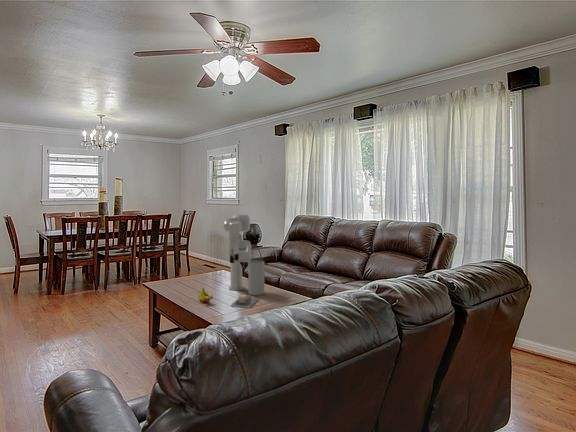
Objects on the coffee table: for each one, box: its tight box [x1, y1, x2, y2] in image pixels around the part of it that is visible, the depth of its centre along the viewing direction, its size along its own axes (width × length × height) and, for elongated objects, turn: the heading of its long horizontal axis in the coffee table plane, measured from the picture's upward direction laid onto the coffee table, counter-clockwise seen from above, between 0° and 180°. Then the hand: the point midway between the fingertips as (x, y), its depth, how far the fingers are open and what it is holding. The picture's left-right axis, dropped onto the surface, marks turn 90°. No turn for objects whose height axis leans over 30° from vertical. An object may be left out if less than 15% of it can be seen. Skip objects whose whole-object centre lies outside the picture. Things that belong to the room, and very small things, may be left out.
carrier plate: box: [230, 296, 259, 309], centre depth 267 cm, size 20×14×2 cm
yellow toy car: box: [197, 287, 214, 305], centre depth 269 cm, size 6×18×10 cm, turn 36°
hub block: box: [238, 294, 248, 303], centre depth 263 cm, size 5×5×5 cm
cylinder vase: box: [248, 260, 266, 296], centre depth 291 cm, size 12×12×25 cm
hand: (234, 261), depth 281 cm, fingers open, 9 cm apart
